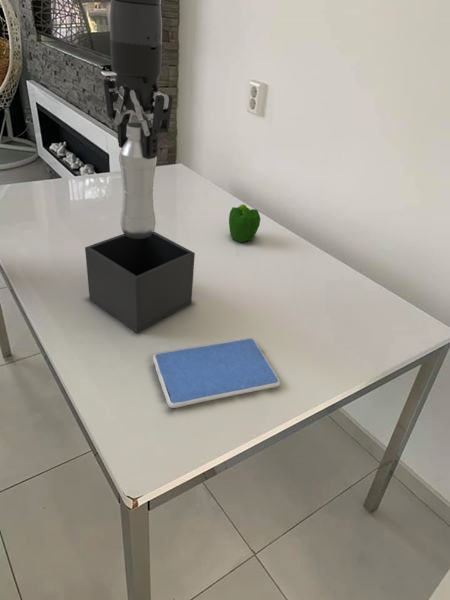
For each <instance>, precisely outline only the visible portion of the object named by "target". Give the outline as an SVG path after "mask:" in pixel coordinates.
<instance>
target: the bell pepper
mask: <svg viewBox="0 0 450 600" xmlns="http://www.w3.org/2000/svg"><path fill="white" fill-rule="evenodd" d="M260 215H261V214H260V213H259V210H258V209H255V208H252V209H251V208H249V207H247V205H246V204H244V203H243V204H240V205H238V207H234V206H233V207H231V209H230V211H229V215H228V216H229V217H228V226H229V234H230V237H231V238H232V240H233V241H235V242H237V243H245V242H246V241H248V242H249V241H252V240H254V238H255V236H256V234H257V231H258V229H259V227H260V224H261V216H260Z"/></svg>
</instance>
